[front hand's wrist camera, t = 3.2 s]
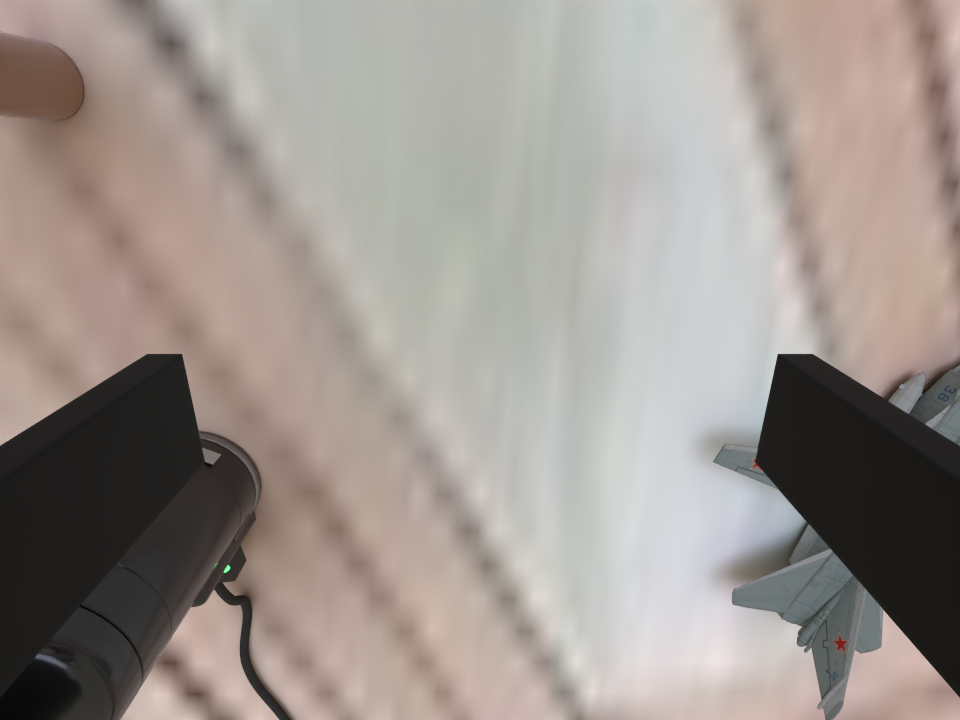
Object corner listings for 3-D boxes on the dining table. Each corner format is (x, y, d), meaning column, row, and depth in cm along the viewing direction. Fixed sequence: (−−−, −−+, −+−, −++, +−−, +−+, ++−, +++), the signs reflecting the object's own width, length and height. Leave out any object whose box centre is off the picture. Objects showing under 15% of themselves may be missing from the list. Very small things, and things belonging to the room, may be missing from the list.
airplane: (1056, 587, 50) (1191, 686, 41) (712, 644, 52) (765, 751, 42) (1140, 155, 37) (1365, 153, 28) (679, 252, 39) (745, 280, 30)
